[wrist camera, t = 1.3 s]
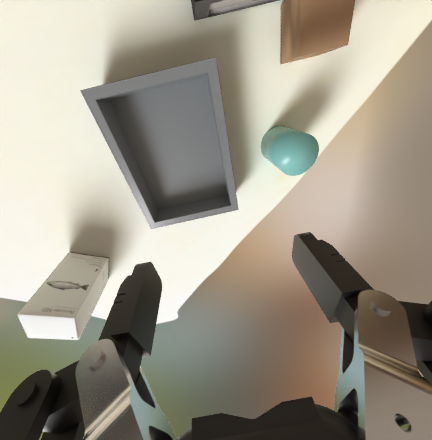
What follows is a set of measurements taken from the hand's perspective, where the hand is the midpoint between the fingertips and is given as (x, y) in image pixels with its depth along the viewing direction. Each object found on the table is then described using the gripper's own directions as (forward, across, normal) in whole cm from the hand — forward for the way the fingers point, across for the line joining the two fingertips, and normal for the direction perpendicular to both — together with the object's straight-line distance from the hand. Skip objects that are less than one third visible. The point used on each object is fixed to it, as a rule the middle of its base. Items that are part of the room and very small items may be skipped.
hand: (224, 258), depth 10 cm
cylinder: (+22, -11, 0) cm, 24 cm away
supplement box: (+22, +28, +18) cm, 40 cm away
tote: (+21, +4, -1) cm, 22 cm away
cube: (+22, -14, -12) cm, 28 cm away
